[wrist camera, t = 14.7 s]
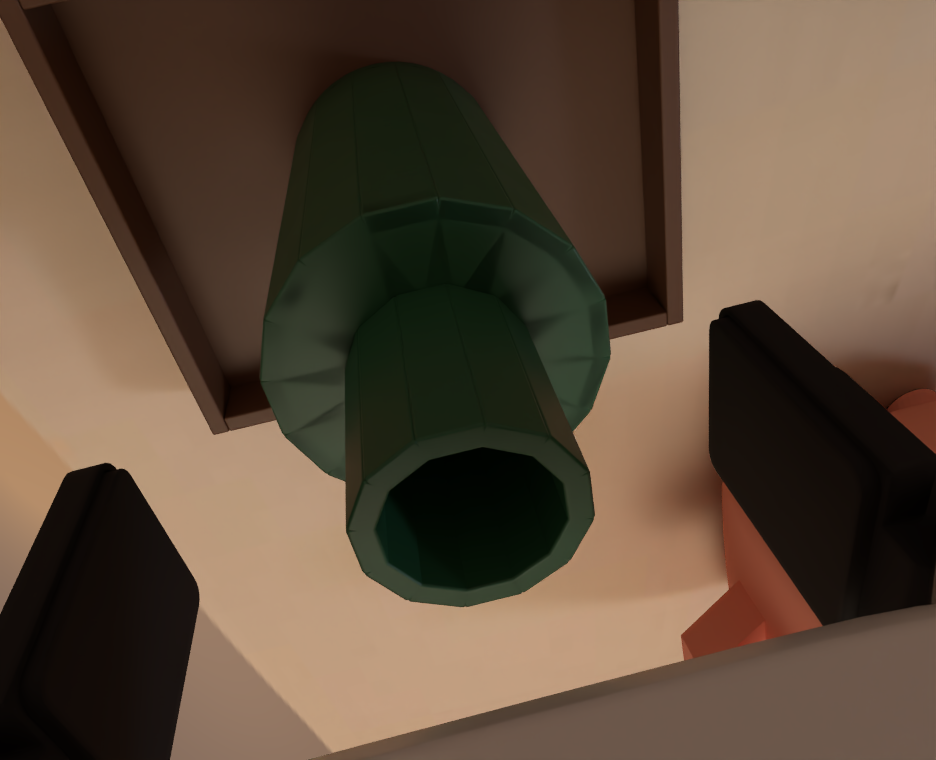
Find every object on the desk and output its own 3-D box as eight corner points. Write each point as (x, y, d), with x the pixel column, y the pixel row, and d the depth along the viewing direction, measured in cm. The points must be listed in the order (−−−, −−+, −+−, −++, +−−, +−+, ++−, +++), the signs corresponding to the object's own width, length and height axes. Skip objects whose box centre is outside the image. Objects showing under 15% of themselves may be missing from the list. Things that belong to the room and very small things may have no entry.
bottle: (330, 279, 25) (318, 706, 12) (266, 88, 21) (146, 396, 8) (509, 236, 25) (698, 612, 12) (477, 39, 21) (697, 264, 8)
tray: (223, 391, 28) (212, 436, 25) (26, -22, 20) (-16, -11, 17) (655, 287, 28) (683, 322, 26) (637, -162, 20) (676, -171, 17)
